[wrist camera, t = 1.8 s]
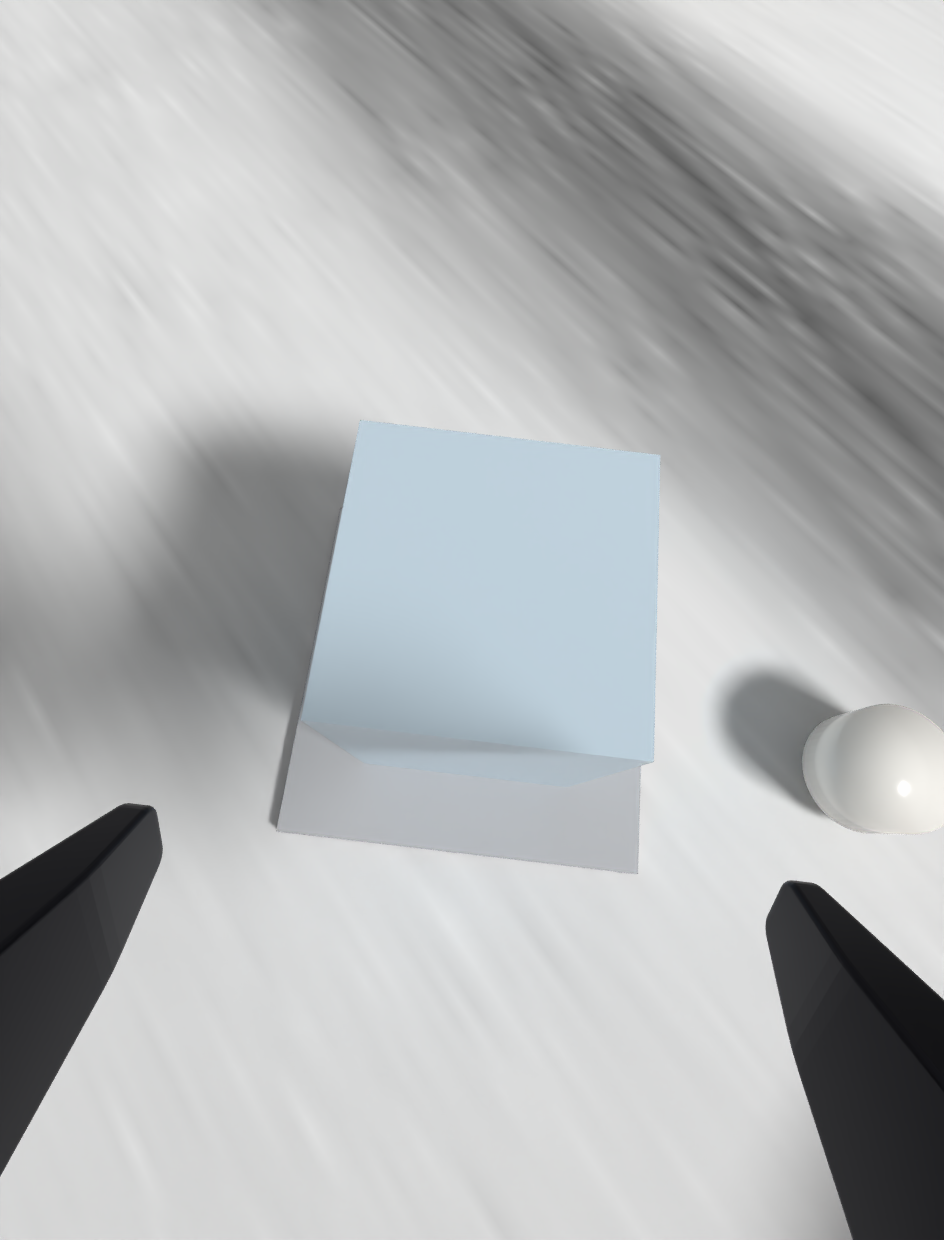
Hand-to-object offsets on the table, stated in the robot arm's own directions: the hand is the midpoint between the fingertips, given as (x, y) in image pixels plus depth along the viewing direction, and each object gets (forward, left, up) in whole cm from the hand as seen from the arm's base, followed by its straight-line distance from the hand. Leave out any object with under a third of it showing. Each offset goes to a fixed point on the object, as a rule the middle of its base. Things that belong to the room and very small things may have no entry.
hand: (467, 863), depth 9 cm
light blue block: (+5, +2, -12) cm, 14 cm away
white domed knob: (+9, -11, -13) cm, 19 cm away
